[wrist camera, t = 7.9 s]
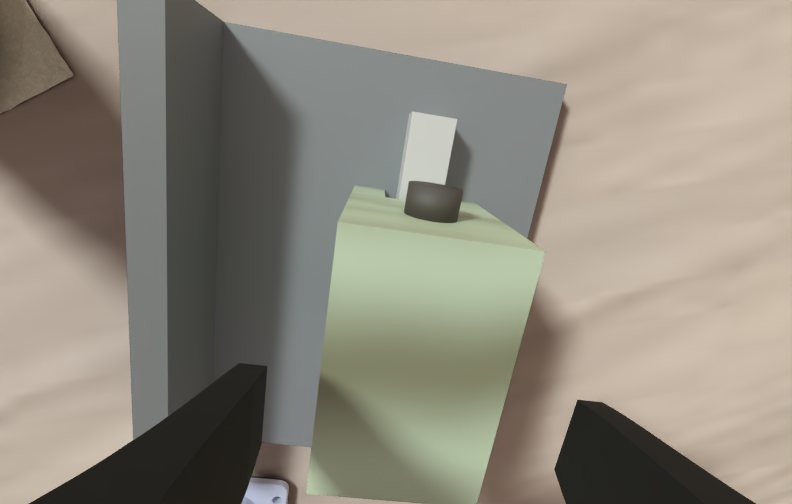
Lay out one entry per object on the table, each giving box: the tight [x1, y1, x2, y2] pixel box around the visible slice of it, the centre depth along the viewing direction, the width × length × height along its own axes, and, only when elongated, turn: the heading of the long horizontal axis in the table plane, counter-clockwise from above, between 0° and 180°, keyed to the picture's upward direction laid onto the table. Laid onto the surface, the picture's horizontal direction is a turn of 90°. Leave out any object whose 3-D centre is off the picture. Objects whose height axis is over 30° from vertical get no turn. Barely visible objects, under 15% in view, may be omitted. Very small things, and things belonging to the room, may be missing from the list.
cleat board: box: [117, 0, 567, 447], centre depth 15 cm, size 18×14×5 cm
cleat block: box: [306, 181, 546, 504], centre depth 13 cm, size 9×5×7 cm, turn 171°
